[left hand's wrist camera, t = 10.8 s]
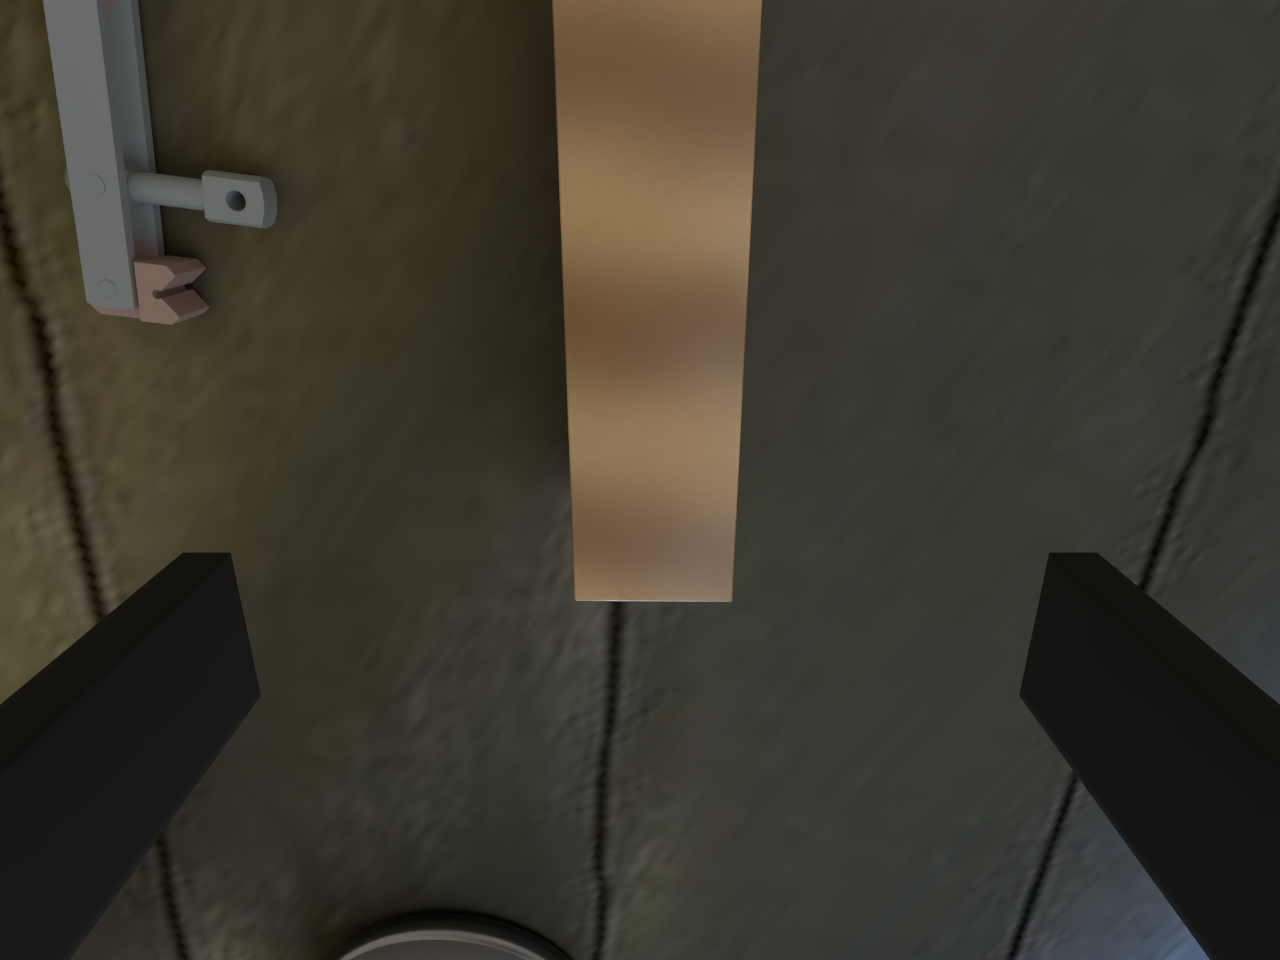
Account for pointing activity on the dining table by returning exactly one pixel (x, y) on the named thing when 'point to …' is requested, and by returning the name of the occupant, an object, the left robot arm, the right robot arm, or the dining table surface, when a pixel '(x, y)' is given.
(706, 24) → the beam
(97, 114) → the clamp
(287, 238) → the dining table surface
